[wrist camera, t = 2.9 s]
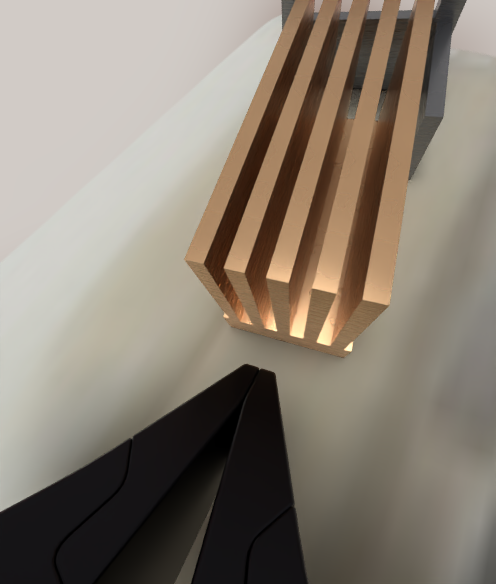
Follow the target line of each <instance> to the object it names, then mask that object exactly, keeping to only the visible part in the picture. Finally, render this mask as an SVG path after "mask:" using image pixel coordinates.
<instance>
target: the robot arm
mask: <svg viewBox="0 0 496 584" xmlns="http://www.w3.org/2000/svg"><path fill="white" fill-rule="evenodd" d="M216 494H217V495H216ZM215 497H216V498H215ZM214 499H215V502H214V505H213V509H212V512H211V516H210V519H209V522H208V526H207V529H206V533H205V536H204V540H203V543H202V547H201V550H200V554H199V557H198V561H197V564H196V568H195V571H194V575H193V578H192V582H191V584H309V582H308V578H307V573H306V568H305V562H304V556H303V551H302V545H301V540H300V534H299V527H298V521H297V514H296V509H295V508H294V505H295V502H294V496H293V489H292V482H291V475H290V469H289V462H288V455H287V449H286V442H285V435H284V429H283V422H282V415H281V408H280V402H279V395H278V388H277V382H276V375H275V373H274V372H272V371H268V370H265V369H260V370H259V368H258V367H255V366H252V365H249V364H244V365H242V366H241V367H239V368H238V369H236V370H235V371H233V372H231V373H230V374H228V375H227V376H225V377H224V378H222V379H221V380H219V381H217V382H216V383H214V384H213V385H211V386H210V387H208V388H207V389H205V390H204V391H202V392H200V393H199V394H197V395H196V396H194V397H193V398H191V399H190V400H188V401H186V402H185V403H183V404H182V405H180V406H179V407H177V408H176V409H174V410H173V411H171V412H169V413H168V414H166V415H165V416H163V417H162V418H160V419H159V420H157V421H155V422H154V423H152V424H151V425H149V426H148V427H146V428H145V429H143V430H142V431H140V432H138V433H137V434H135V435H134V436H133V438H132V439H131V438H129V439H127V440H126V441H124V442H123V443H121V444H120V445H118V446H116V447H115V448H113V449H112V450H110V451H108V452H107V453H105V454H104V455H102V456H100V457H99V458H97V459H95V460H94V461H92V462H91V463H89V464H87V465H86V466H84V467H82V468H80V469H79V470H77V471H75V472H73V473H71V474H70V475H68V476H66V477H64V478H62V479H61V480H59V481H57V482H55V483H54V484H52V485H50V486H48V487H46V488H44V489H42V490H41V491H39V492H37V493H35V494H33V495H31V496H29V497H27V498H26V499H24V500H22V501H20V502H18V503H16V504H14V505H13V506H11V507H9V508H7V509H5V510H3V511H1V512H0V584H174V583H175V581H176V579H177V577H178V575H179V572H180V570H181V568H182V566H183V564H184V562H185V560H186V558H187V556H188V553H189V551H190V549H191V547H192V545H193V543H194V541H195V539H196V537H197V534H198V532H199V530H200V528H201V526H202V524H203V522H204V520H205V518H206V516H207V513H208V511H209V509H210V507H211V505H212V503H213V501H214Z"/></svg>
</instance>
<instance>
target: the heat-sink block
mask: <svg viewBox="0 0 496 584" xmlns="http://www.w3.org/2000/svg"><path fill="white" fill-rule="evenodd" d="M400 1H401V0H384V4H383V8H382V12H381V16H380V20H379V24H378V28H377V32H376V36H375V40H374V44H373V48H372V52H371V56H370V60H369V64H368V68H367V72H366V76H365V80H364V84H363V87H362V91H361V95H360V99H359V103H358V107H357V111H356V115H355V119H347V116H348V111H349V106H350V100H351V95H352V90H353V85H354V80H355V75H356V70H357V65H358V60H359V54H360V49H361V44H362V39H363V34H364V29H365V24H366V19H367V14H368V8H369V3H370V0H353V2H352V5H351V8H350V11H349V15H348V18H347V21H346V24H345V27H344V31H343V34H342V37H341V40H340V43H339V47H338V50H337V53H336V56H335V51H336V43H337V35H338V27H339V19H340V10H341V3H342V0H323V3H322V5H321V8H320V11H319V13H318V16H317V19H316V21H315V24H314V27H313V22H314V4H315V3H314V2H315V0H295V2H294V4H293V7H292V9H291V11H290V14H289V16H288V18H287V21H286V23H285V25H284V28H283V30H282V32H281V35H280V37H279V39H278V42H277V44H276V46H275V49H274V51H273V53H272V56H271V58H270V60H269V63H268V65H267V67H266V70H265V72H264V74H263V77H262V79H261V81H260V84H259V86H258V88H257V91H256V93H255V95H254V98H253V100H252V102H251V105H250V107H249V109H248V112H247V114H246V116H245V119H244V121H243V123H242V126H241V128H240V130H239V133H238V135H237V137H236V140H235V142H234V144H233V147H232V149H231V151H230V154H229V156H228V158H227V161H226V163H225V165H224V168H223V170H222V172H221V175H220V177H219V179H218V182H217V184H216V186H215V189H214V191H213V193H212V196H211V198H210V200H209V203H208V205H207V207H206V210H205V212H204V214H203V217H202V219H201V221H200V224H199V226H198V228H197V231H196V233H195V235H194V238H193V240H192V242H191V245H190V247H189V249H188V252H187V254H186V256H185V259H184V260H185V261H186V262H187V264H188V265H189V266H190V268H191V269H192V270H193V272H194V273H195V274H196V276H197V277H198V278H199V280H200V281H201V282H202V284H203V285H204V286H205V287H206V289H207V290H208V291H209V293H210V294H211V295H212V297H213V298H214V299H215V301H216V302H217V303H218V305H219V306H220V307H221V309H222V310H223V311H224V312H225V314H224V318H225V320H226V321H227V322H228V323H229V325H230V326H231V327H235V328H238V329H242V330H245V331H249V332H253V333H256V334H260V335H263V336H267V337H271V338H274V339H278V340H281V341H285V342H289V343H292V344H296V345H299V346H303V347H307V348H310V349H314V350H317V351H321V352H324V353H328V354H332V355H335V356H339V357H342V358H344V357H345V356H347V355H348V354H349V353H350V352H351V350H352V345H353V341H354V340H355V339H356V338H357V337H358V336H359V335H360V334H361V333H362V332H363V331H364V330H365V329H366V328H367V327H368V326H369V325H370V324H371V323H372V322H373V321H374V320H375V319H376V318H377V317H378V316H379V315H380V314H381V313H382V312H383V311H384V310H385V309H386V308H387V307H388V306H389V304H390V298H391V291H392V284H393V277H394V271H395V264H396V257H397V251H398V244H399V237H400V231H401V224H402V217H403V211H404V204H405V197H406V190H407V184H408V177H409V170H410V164H411V157H412V150H413V144H414V137H415V130H416V124H417V117H418V110H419V103H420V97H421V90H422V83H423V77H424V70H425V63H426V57H427V50H428V43H429V37H430V30H431V23H432V16H433V10H434V2H435V0H415V2H414V5H413V8H412V12H411V15H410V18H409V21H408V25H407V28H406V31H405V34H404V38H403V41H402V44H401V47H400V51H399V54H398V57H397V60H396V64H395V67H394V70H393V73H392V77H391V80H390V83H389V86H388V90H387V93H386V96H385V99H384V103H383V106H382V109H381V112H380V116H379V119H378V121H375V116H376V111H377V107H378V102H379V98H380V93H381V88H382V84H383V79H384V75H385V70H386V66H387V61H388V56H389V52H390V47H391V43H392V38H393V33H394V29H395V24H396V20H397V15H398V10H399V6H400Z"/></svg>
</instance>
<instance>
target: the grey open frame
mask: <svg viewBox="0 0 496 584" xmlns="http://www.w3.org/2000/svg"><path fill="white" fill-rule="evenodd" d="M294 2H295V0H282V30H283V28H284V25H285V23H286V21H287V18H288V16H289V14H290V11H291V9H292V7H293V4H294ZM465 3H466V0H439V1H438V3H437V6H436V9H435V10H433V16H432V23H431V30H430V37H429V43H428V50H427V57H426V63H425V70H424V77H423V83H422V90H421V97H420V103H419V110H418V117H417V124H416V130H415V137H414V144H413V150H412V157H411V164H410V170H409V177H408V180H410V179H411V177H412V175H413V173H414V171H415V169H416V167H417V166H418V164H419V162H420V160H421V158H422V156H423V154H424V152H425V151H426V149H427V147H428V145H429V143H430V141H431V139H432V137H433V136H434V134H435V132H436V130H437V128H438V126H439V124H440V122H441V121H442V119H443V116H444V106H445V95H446V85H447V75H448V65H449V55H450V44H451V35H452V33H453V30H454V28H455V26H456V23H457V21H458V18H459V16H460V14H461V12H462V10H463V7H464V5H465ZM381 12H382V11H368V14H367V19H366V24H365V29H364V34H363V39H362V44H361V49H360V54H359V60H358V65H357V70H356V75H355V80H354V85H353V88H359V89H362V87H363V84H364V80H365V76H366V72H367V68H368V64H369V60H370V56H371V52H372V48H373V44H374V40H375V36H376V32H377V28H378V24H379V20H380V16H381ZM411 12H412V10H408V11H398V15H397V20H396V24H395V29H394V33H393V38H392V43H391V47H390V52H389V56H388V61H387V66H386V70H385V75H384V79H383V84H382V88H381V89H383V90H388V86H389V83H390V80H391V77H392V73H393V70H394V67H395V64H396V60H397V57H398V54H399V51H400V47H401V44H402V41H403V38H404V34H405V31H406V28H407V25H408V21H409V18H410V15H411ZM348 15H349V12H340V19H339V27H338V35H337V43H336V51H335V56H336V53H337V50H338V47H339V43H340V40H341V37H342V34H343V31H344V27H345V24H346V21H347V18H348ZM317 16H318V13H314V22H313V27H314V24H315V21H316V19H317Z"/></svg>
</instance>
